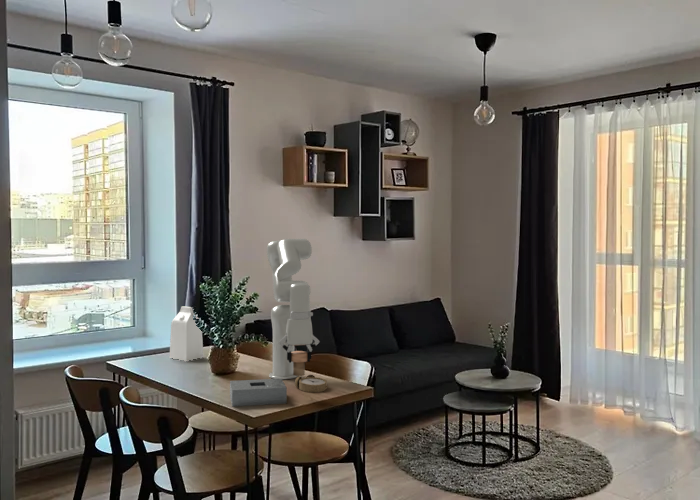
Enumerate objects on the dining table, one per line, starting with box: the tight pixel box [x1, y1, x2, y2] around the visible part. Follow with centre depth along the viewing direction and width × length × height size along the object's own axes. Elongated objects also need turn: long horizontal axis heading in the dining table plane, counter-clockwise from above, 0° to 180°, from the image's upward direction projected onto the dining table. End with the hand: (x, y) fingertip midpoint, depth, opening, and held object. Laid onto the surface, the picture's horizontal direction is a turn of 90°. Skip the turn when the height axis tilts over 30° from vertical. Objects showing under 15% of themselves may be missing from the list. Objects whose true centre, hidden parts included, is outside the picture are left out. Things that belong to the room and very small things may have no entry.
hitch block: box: [229, 378, 288, 408], centre depth 246 cm, size 15×20×6 cm
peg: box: [291, 350, 308, 377], centre depth 250 cm, size 7×7×8 cm
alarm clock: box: [293, 374, 330, 393], centre depth 265 cm, size 11×5×15 cm
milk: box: [168, 305, 204, 362], centre depth 325 cm, size 12×12×26 cm
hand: (299, 361), depth 250 cm, fingers closed on peg, 6 cm apart
